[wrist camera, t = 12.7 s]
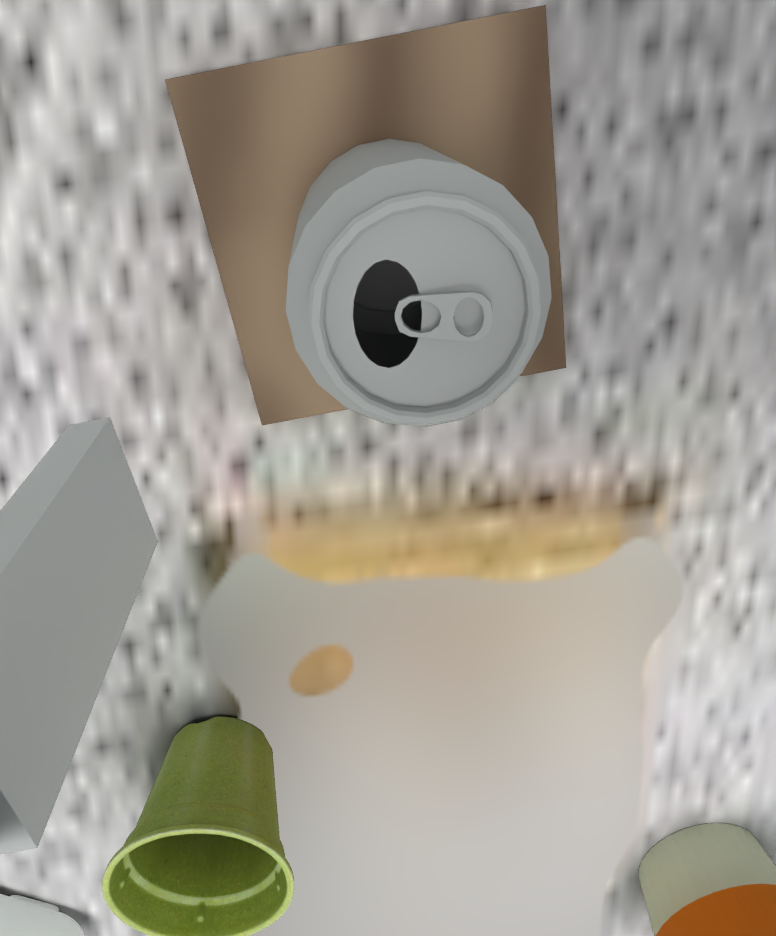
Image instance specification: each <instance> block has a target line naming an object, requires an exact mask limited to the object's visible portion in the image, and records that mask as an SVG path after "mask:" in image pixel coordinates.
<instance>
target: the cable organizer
mask: <svg viewBox="0 0 776 936" xmlns="http://www.w3.org/2000/svg"><path fill="white" fill-rule="evenodd" d="M58 911H59V908H58V907H57V906H55V905H53V904H49V903H46V902H42V901H38V900H35V899H31V898H27V897H24V896H20V895H11V896H10V897H9V896H6V895H2V894H0V936H84V933H83V930H82V929H81V927H80V926H79V924H78V923H77V922H76V921H75V920H74V919H72V918H71V917H70V916H68V915H66V914H64V913H61V912H58Z"/></svg>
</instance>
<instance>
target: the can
mask: <svg viewBox="0 0 776 936" xmlns="http://www.w3.org/2000/svg"><path fill="white" fill-rule="evenodd" d="M551 298H552V296H551V283H550V270H549V256H548V254H547V251H546V249H545V247H544V244H543V242H542V240H541V237H540V235H539V232H538V230H537V228H536V225H535V223H534V221H533V218H532V217H531V215H530V214H529V213H528V212H527V211H526V210H525V209H524V208H523V207H522V206H521V204H520V203H519V202H518V201H517V200H516V199H515V198H514V197H513V196H512V195H511V193H510V192H509V191H508V190H507V189H506V188H505V187H504V186H503V185H502V184H500V183H498V182H496V181H494V180H492V179H490V178H488V177H487V176H485V175H483V174H481V173H479V172H477V171H475V170H473V169H471V168H470V167H468V166H466V165H464V164H462V163H460V162H458V161H456V160H454V159H451V158H449V157H447V156H445V155H443V154H441V153H439V152H437V151H435V150H433V149H431V148H429V147H427V146H425V145H423V144H421V143H416V142H408V141H401V140H394V139H385V140H380V141H376V142H371V143H366V144H361V145H357V146H356V147H354V148H352V149H351V150H349V151H347V152H346V153H344V154H343V155H341V156H339V157H338V158H336V159H334V160H333V161H331V162H330V163H329V164H328V165H327V167H326V168H325V169H324V170H323V171H322V173H321V174H320V175H319V176H318V177H317V179H316V180H315V181H314V182H313V183H312V185H311V186H310V188H309V190H308V193H307V195H306V198H305V200H304V203H303V205H302V208H301V210H300V213H299V215H298V220H297V225H296V231H295V236H294V241H293V246H292V251H291V257H290V262H289V267H288V282H287V296H286V314H287V318H288V322H289V325H290V329H291V333H292V337H293V341H294V345H295V349H296V351H297V353H298V354H299V356H300V357H301V359H302V361H303V362H304V364H305V365H306V367H307V368H308V370H309V372H310V373H311V375H312V376H313V378H314V379H315V381H316V383H317V384H318V385H319V386H321V387H322V388H323V389H324V390H326V391H327V392H328V393H329V394H330V395H332V396H333V397H334V398H335V399H336V400H338V401H339V402H340V403H341V404H342V405H344V406H345V407H346V408H348V409H350V410H352V411H355V412H357V413H360V414H362V415H365V416H367V417H370V418H372V419H375V420H377V421H380V422H382V423H392V424H403V425H414V426H426V427H427V426H432V425H437V424H442V423H447V422H452V421H457V420H461V419H463V418H465V417H467V416H469V415H471V414H473V413H474V412H476V411H478V410H480V409H482V408H484V407H486V406H488V405H490V404H492V403H493V402H494V401H495V400H496V399H497V398H498V397H499V396H500V395H501V394H502V393H503V392H504V391H505V390H506V389H507V388H509V387H510V386H511V385H512V384H513V383H514V382H515V381H516V380H517V379H518V377H519V376H520V374H521V373H522V372H523V370H524V368H525V367H526V365H527V363H528V361H529V360H530V358H531V356H532V355H533V353H534V351H535V349H536V348H537V346H538V344H539V342H540V341H541V339H542V337H543V332H544V328H545V324H546V320H547V315H548V311H549V307H550V303H551Z"/></svg>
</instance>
